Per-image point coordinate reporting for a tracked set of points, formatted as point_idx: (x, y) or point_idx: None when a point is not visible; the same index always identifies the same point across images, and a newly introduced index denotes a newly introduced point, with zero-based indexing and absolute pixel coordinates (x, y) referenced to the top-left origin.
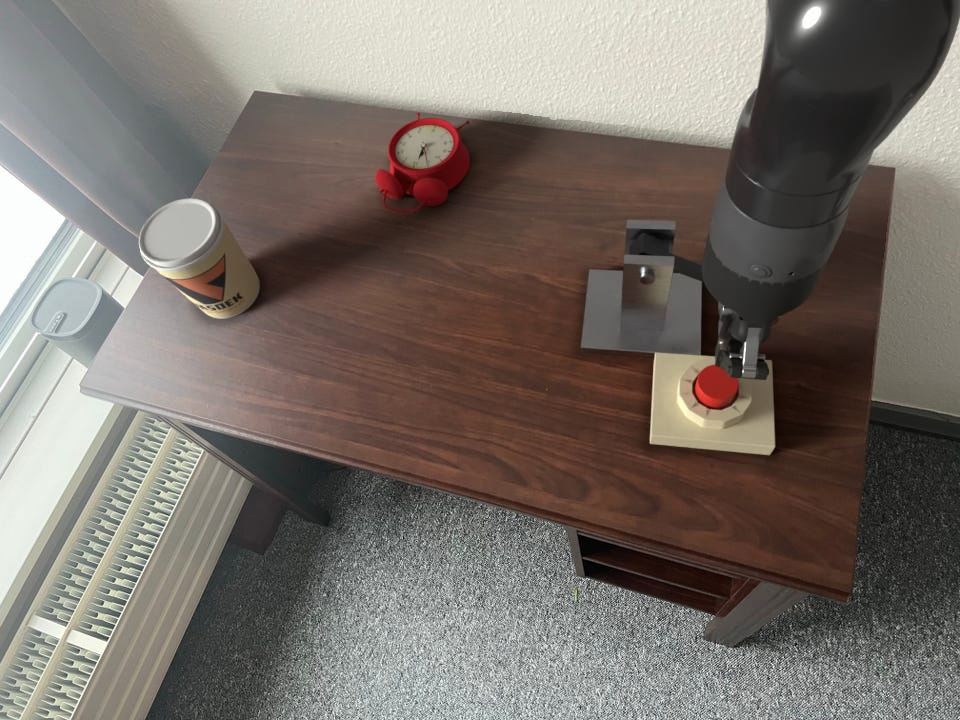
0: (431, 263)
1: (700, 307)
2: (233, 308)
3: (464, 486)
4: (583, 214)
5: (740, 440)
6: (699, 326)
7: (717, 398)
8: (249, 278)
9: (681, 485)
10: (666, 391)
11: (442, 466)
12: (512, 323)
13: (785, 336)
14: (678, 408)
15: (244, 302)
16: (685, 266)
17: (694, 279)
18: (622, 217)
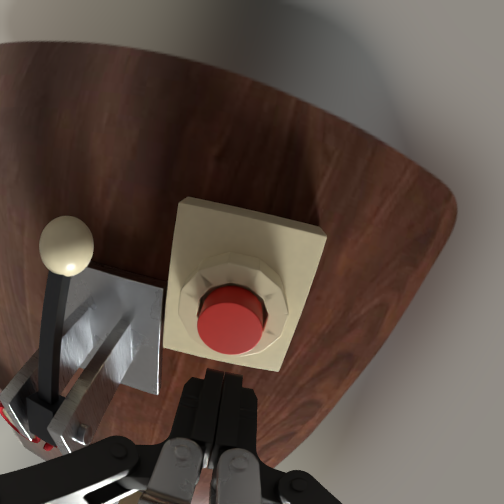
0: (95, 438)
1: (94, 270)
2: None
3: (286, 456)
4: (22, 338)
5: (307, 279)
6: (120, 279)
7: (259, 337)
8: (135, 501)
9: (333, 331)
10: None
11: (267, 463)
12: (135, 418)
13: (136, 158)
14: None
15: None
16: (48, 371)
17: None
18: (16, 308)
